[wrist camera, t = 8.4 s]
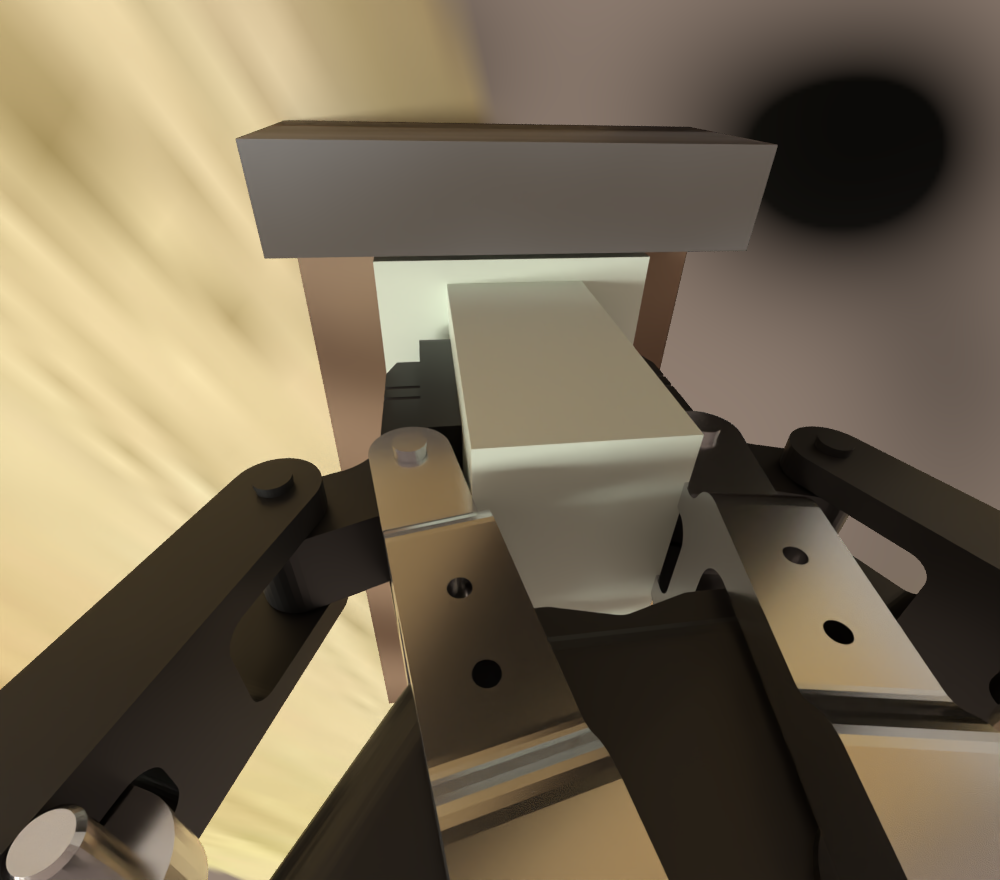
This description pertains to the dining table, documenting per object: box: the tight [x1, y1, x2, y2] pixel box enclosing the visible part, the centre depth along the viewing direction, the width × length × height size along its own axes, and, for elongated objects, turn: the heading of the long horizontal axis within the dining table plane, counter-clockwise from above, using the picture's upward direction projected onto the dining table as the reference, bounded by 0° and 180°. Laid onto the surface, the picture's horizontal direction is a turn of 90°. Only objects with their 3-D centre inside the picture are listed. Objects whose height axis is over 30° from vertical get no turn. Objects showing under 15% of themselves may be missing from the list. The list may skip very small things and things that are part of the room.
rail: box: [236, 121, 778, 703], centre depth 18 cm, size 24×10×4 cm, turn 179°
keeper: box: [373, 252, 704, 615], centre depth 11 cm, size 5×6×8 cm
